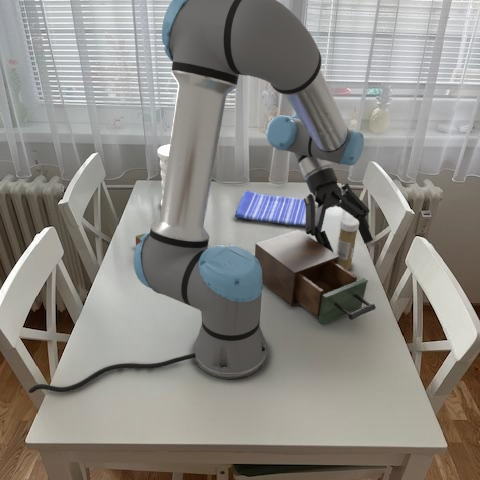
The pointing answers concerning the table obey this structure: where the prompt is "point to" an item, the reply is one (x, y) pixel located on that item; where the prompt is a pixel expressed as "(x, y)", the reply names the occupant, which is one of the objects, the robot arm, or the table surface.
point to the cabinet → (290, 261)
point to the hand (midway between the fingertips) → (350, 249)
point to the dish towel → (272, 209)
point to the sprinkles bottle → (347, 241)
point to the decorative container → (163, 162)
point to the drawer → (332, 293)
